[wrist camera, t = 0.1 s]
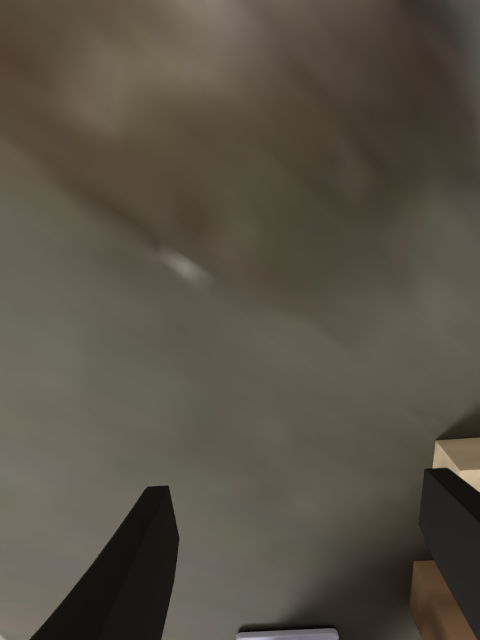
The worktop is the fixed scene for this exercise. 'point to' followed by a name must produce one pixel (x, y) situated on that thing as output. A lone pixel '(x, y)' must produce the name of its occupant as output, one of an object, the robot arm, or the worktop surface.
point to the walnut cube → (436, 606)
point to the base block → (460, 458)
